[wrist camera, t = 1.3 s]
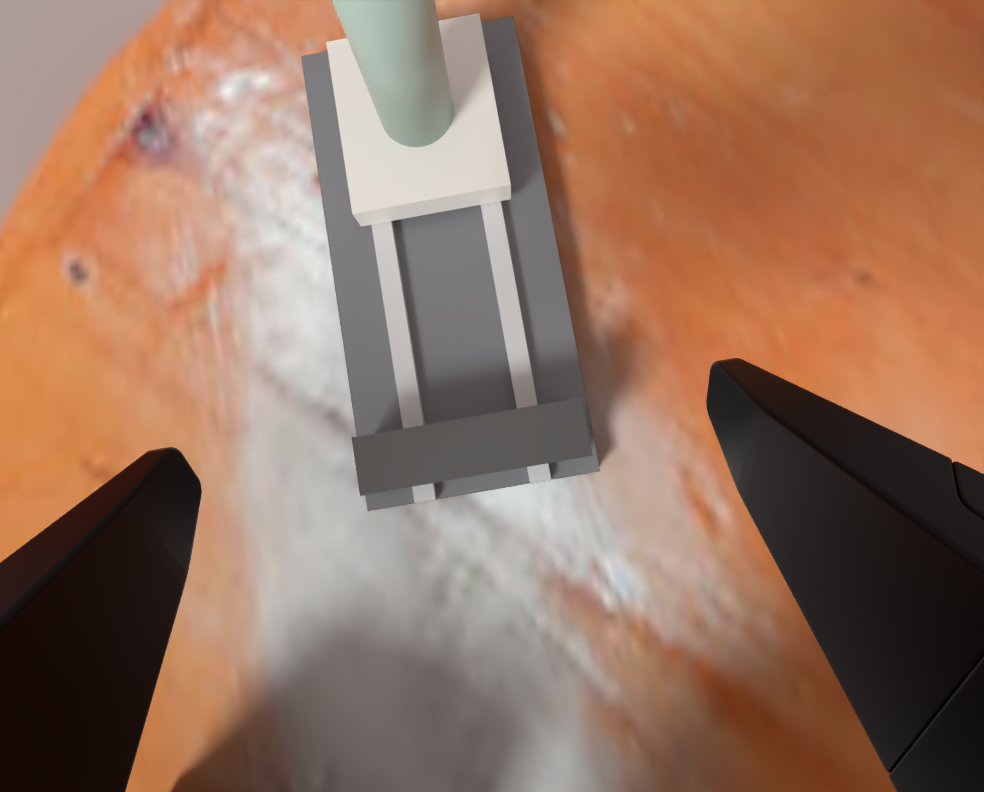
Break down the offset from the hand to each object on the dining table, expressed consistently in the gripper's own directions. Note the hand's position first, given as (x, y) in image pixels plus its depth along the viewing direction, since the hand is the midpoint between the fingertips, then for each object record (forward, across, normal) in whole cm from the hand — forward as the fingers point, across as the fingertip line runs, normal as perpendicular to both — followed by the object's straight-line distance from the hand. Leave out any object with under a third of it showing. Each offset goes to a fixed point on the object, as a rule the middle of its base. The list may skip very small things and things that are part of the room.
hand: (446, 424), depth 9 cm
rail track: (+15, 0, +4) cm, 15 cm away
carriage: (+17, +1, -1) cm, 17 cm away
